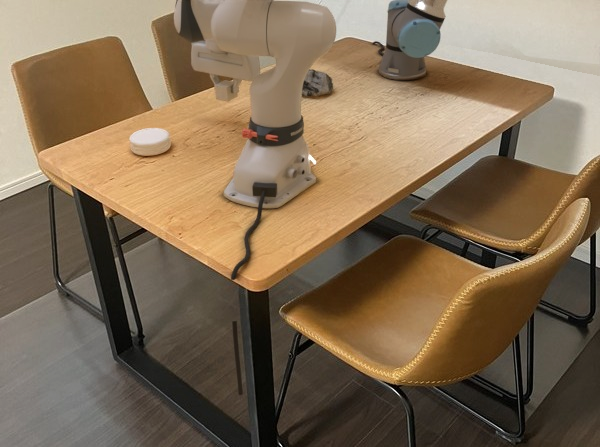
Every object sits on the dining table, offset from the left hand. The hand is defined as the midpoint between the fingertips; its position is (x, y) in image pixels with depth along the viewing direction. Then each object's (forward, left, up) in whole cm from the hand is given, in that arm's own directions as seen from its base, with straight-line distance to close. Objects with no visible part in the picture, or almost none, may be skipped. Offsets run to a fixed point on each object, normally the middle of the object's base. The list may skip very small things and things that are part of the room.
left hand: (226, 91), depth 166 cm
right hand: (+29, -8, +22) cm, 38 cm away
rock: (+31, -10, -9) cm, 34 cm away
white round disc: (-22, +10, -9) cm, 26 cm away
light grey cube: (0, 0, -2) cm, 2 cm away
